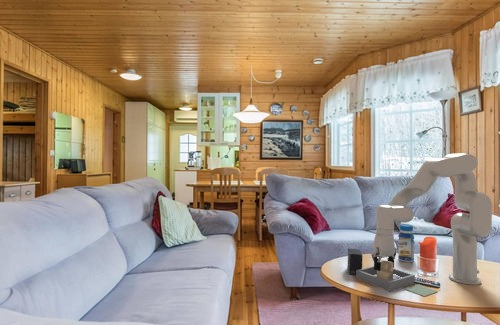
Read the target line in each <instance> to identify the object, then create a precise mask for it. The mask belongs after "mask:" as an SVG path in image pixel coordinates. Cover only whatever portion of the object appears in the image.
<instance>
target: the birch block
mask: <svg viewBox="0 0 500 325" xmlns="http://www.w3.org/2000/svg"><path fill="white" fill-rule="evenodd" d="M380 262H381V270H380V271H377V274H376V275H377V276H378V277H380V278H383V279H390V278H393V262H390V261H388V260H386V259H381V260H380Z"/></svg>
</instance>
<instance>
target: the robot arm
mask: <svg viewBox="0 0 500 325" xmlns="http://www.w3.org/2000/svg"><path fill="white" fill-rule="evenodd" d="M478 164H479V163H478V159H477V157H476V156H475V155H473V154H472V153H450V154H446V155H444V156H443V157H442V158H432V159H431V158H430V159H426V160H425V161H424V162H423V163H422V165H421V166H420V168H419V169H418V171H417V172H416V173H415V175H414V176H413V178H412V180H411V181H410V182H409V183H408V184H407V185H406V186H405V187H403V188H402V189H401V190H399V191H398V192H397V193H396V194H395V196H393V198H392V199H391V201H390V203H389V204H388V205H387V204H380V205H377V207H376V225H375V226H376V227H375V228H376V229H375V232H376V233H375V235H374V240H373V250H372V251H371V252H370V254H371V258H372V261H373V266H374V269H375V270H377V271H380V270H381V262H380V260H382V259H383V258H384V259H385V258H387V261H390V262H393V268H394V269H395V259H396V256H397V253H398V252H397V251H398V249H397V248H396V246H395V236H394V232H395V230H394V229H395V222H396V223H397V222H398V223H402V224H407V223H410V222H411V221H412V220H414V217H415V213H414V211H413V209H411V208H410V207H408V205H409V203H411V202H412V201H414V200H415V199H419V198H420V197H423V196H424V195H426V194H428V193H429V192H430V190H431V188H432V187H433V185H434V184H435V182H436V181H437V180H438V178H451V177H453V181H454V204H455V207H456V208H457V209H459V210H461V211H462V210H463V211H465V212H457V213H455V214H454V215H453V216H452V217H451V219H450V228H451V233H452V273H450V274H448V278H449V280H451V281H453V282H456V283H459V284H464V285H470V286H471V285H472V286H474V285H475V286H477V285H480V284H481V283H482V280H481V279H480V278H479V277H478V274H480V270H479V269H478V241H477V239H484V238H486V237H487V236H489V234H490V233H491V231H492V223H493V220H492V219H493V204H492V200H491V198H490V196H489V195H488V194H487V193H485V192H482V191H478V190H477V178H476V175H475V173H474V171H475V170H476V169H477V167H478ZM467 212H469V213H467Z"/></svg>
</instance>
